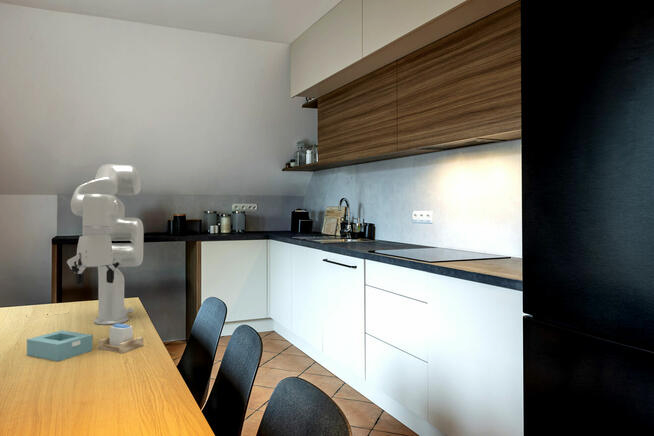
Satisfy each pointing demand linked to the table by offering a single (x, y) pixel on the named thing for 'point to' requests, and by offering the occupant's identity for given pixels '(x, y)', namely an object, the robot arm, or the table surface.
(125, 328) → the white box blue label
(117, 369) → the table surface
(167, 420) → the table surface
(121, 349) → the wooden frame
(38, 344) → the block
